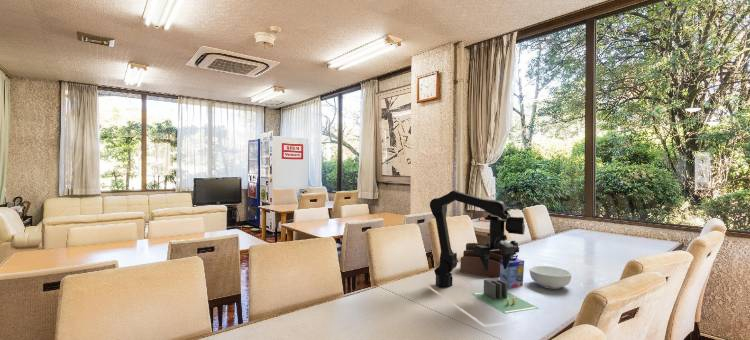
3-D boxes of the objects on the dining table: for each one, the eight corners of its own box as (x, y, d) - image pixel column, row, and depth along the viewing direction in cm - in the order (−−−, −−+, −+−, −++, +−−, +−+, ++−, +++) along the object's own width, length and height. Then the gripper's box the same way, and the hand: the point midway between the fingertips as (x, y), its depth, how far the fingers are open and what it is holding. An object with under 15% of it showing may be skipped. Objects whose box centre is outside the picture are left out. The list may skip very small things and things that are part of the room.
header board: (504, 315, 126) (504, 306, 126) (471, 295, 144) (471, 287, 144) (539, 310, 131) (539, 301, 131) (502, 291, 150) (503, 284, 150)
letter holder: (465, 267, 186) (466, 241, 185) (504, 274, 175) (505, 246, 175) (459, 272, 177) (460, 244, 177) (500, 279, 167) (501, 250, 167)
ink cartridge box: (508, 290, 151) (509, 257, 151) (498, 286, 156) (499, 254, 156) (524, 287, 156) (524, 255, 156) (513, 283, 161) (514, 252, 161)
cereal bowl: (561, 281, 166) (561, 266, 166) (578, 293, 149) (578, 277, 149) (524, 279, 168) (524, 264, 168) (536, 291, 151) (537, 275, 151)
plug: (493, 299, 138) (494, 284, 138) (483, 294, 144) (484, 279, 144) (507, 298, 140) (507, 283, 140) (496, 292, 147) (496, 278, 146)
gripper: (490, 236, 131) (489, 278, 132) (529, 234, 138) (528, 273, 138) (472, 231, 142) (471, 269, 142) (509, 229, 148) (508, 265, 148)
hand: (495, 269), depth 142 cm, fingers open, 9 cm apart
